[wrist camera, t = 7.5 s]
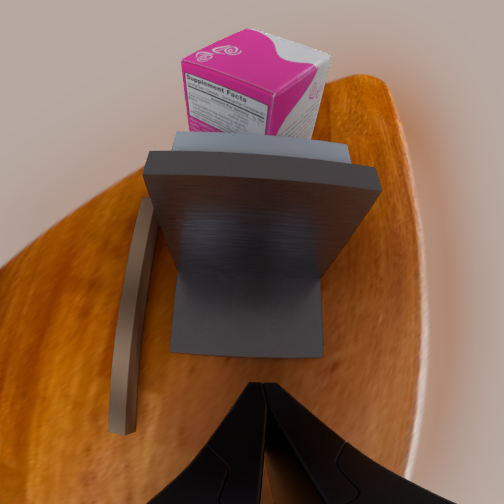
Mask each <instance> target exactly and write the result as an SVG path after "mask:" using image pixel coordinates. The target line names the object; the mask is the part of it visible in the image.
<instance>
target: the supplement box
mask: <svg viewBox="0 0 504 504" xmlns="http://www.w3.org/2000/svg"><path fill="white" fill-rule="evenodd" d="M330 61H331V56H330V55H329V54H326V53H324V52H321V51H319V50H316V49H313V48H310V47H308V46H305V45H301V44H299V43H296V42H292V41H290V40H287V39H284V38H280V37H278V36H274V35H271V34H268V33H265V32H262V31H258V30H255V29H251V28H247V29H245V30H243V31H240V32H238V33H235V34H233V35H231V36H229V37H226V38H224V39H222V40H220V41H217V42H215V43H213V44H212V45H209V46H207V47H205V48H203V49H201V50H199V51H197V52H195V53H193V54H191V55H189V56H187V57H186V58H184V59H182V60H181V64H182V73H183V82H184V91H185V99H186V106H187V115H188V123H189V130H190V132H224V133H244V134H259V135H272V136H283V137H293V138H302V139H311V137H312V133H313V129H314V125H315V121H316V118H317V114H318V110H319V106H320V102H321V98H322V94H323V89H324V86H325V82H326V77H327V73H328V69H329V65H330Z"/></svg>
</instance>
